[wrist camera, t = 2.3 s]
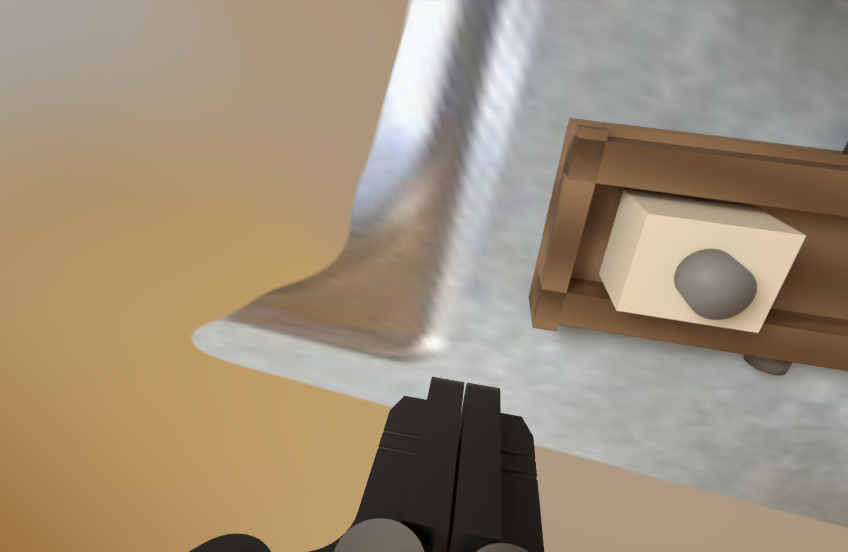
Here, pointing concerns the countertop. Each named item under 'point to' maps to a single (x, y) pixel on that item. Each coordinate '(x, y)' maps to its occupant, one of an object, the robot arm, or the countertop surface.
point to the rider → (697, 260)
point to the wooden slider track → (713, 181)
